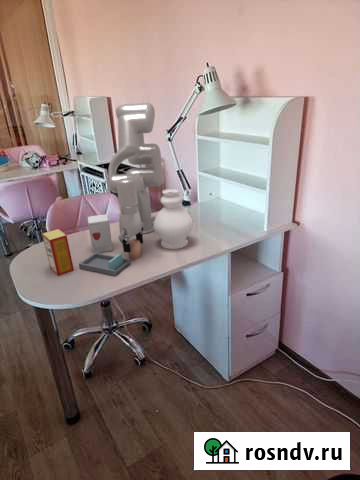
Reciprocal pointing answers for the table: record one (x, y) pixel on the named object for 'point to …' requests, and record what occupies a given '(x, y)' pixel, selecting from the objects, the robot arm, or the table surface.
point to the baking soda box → (58, 251)
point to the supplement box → (100, 233)
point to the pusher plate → (116, 262)
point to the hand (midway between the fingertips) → (133, 247)
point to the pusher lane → (102, 264)
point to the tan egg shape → (135, 249)
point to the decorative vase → (172, 221)
